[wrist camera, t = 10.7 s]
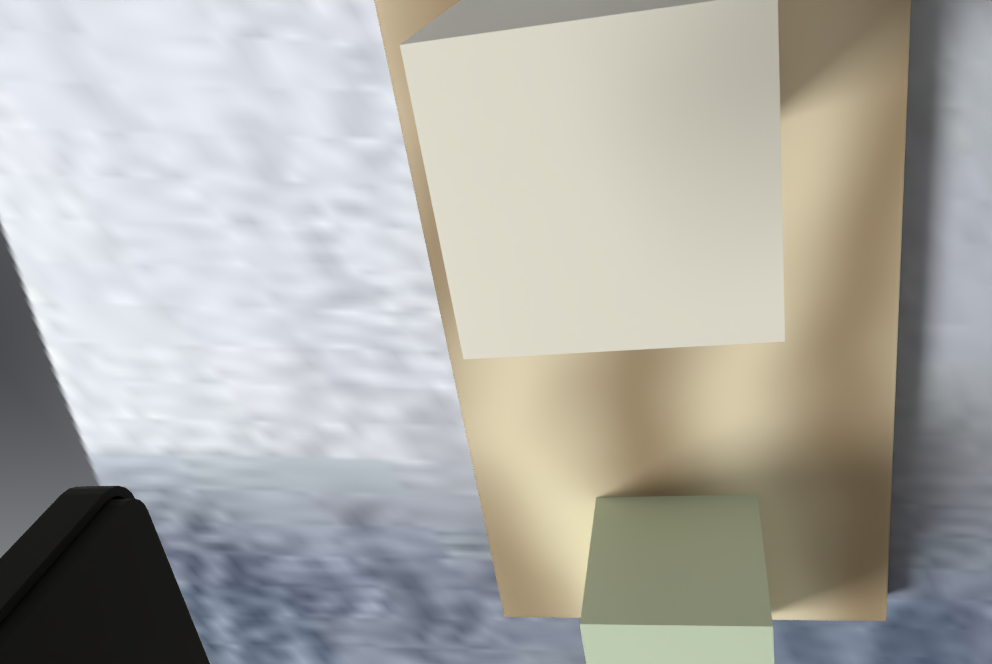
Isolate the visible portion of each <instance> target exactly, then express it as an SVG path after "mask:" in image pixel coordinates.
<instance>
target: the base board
mask: <svg viewBox="0 0 992 664" xmlns="http://www.w3.org/2000/svg"><path fill="white" fill-rule="evenodd" d="M374 1H375V6H376V11H377V15H378V20H379V25H380V30H381V34H382V39H383V44H384V49H385V53H386V58H387V63H388V68H389V72H390V77H391V82H392V86H393V91H394V96H395V101H396V105H397V110H398V115H399V120H400V124H401V129H402V134H403V138H404V143H405V148H406V153H407V157H408V162H409V167H410V172H411V176H412V181H413V186H414V191H415V195H416V200H417V205H418V209H419V214H420V219H421V224H422V228H423V233H424V238H425V243H426V247H427V252H428V257H429V261H430V266H431V271H432V276H433V280H434V285H435V290H436V295H437V299H438V304H439V309H440V314H441V318H442V323H443V328H444V332H445V337H446V342H447V347H448V351H449V356H450V361H451V366H452V370H453V375H454V380H455V385H456V389H457V394H458V399H459V403H460V408H461V413H462V418H463V422H464V427H465V432H466V437H467V441H468V446H469V451H470V455H471V460H472V465H473V470H474V474H475V479H476V484H477V489H478V493H479V498H480V503H481V508H482V512H483V517H484V522H485V526H486V531H487V536H488V541H489V545H490V550H491V555H492V560H493V564H494V569H495V574H496V578H497V583H498V588H499V593H500V597H501V602H502V607H503V612H504V616H505V617H573V618H581V611H582V604H583V596H584V588H585V580H586V572H587V564H588V557H589V549H590V541H591V533H592V525H593V518H594V510H595V502H596V497H646V496H697V495H748V494H757V496H758V504H759V513H760V521H761V530H762V538H763V547H764V555H765V564H766V572H767V581H768V589H769V598H770V606H771V615H772V620H848V621H886V610H887V586H888V561H889V536H890V511H891V486H892V462H893V437H894V412H895V387H896V362H897V338H898V313H899V288H900V263H901V238H902V214H903V189H904V164H905V139H906V114H907V90H908V65H909V40H910V15H911V0H778V33H779V80H780V127H781V173H782V220H783V267H784V313H785V342H767V343H749V344H731V345H713V346H695V347H677V348H659V349H642V350H624V351H606V352H588V353H570V354H552V355H534V356H516V357H498V358H480V359H463V354H462V350H461V345H460V340H459V335H458V330H457V325H456V320H455V315H454V310H453V305H452V300H451V295H450V290H449V285H448V281H447V276H446V271H445V266H444V261H443V256H442V251H441V246H440V241H439V236H438V231H437V226H436V221H435V217H434V212H433V207H432V202H431V197H430V192H429V187H428V182H427V177H426V172H425V167H424V162H423V157H422V152H421V148H420V143H419V138H418V133H417V128H416V123H415V118H414V113H413V108H412V103H411V98H410V93H409V88H408V84H407V79H406V74H405V69H404V64H403V59H402V54H401V49H400V44H402V43H403V42H404V41H406V40H407V39H408V38H410V37H411V36H412V35H414V34H415V33H417V32H418V31H419V30H421V29H422V28H423V27H425V26H426V25H427V24H429V23H430V22H431V21H433V20H434V19H436V18H437V17H438V16H440V15H441V14H442V13H444V12H445V11H446V10H448V9H449V8H450V7H452V6H453V5H455V4H456V3H457V2H459V1H460V0H374Z"/></svg>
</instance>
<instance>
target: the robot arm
mask: <svg viewBox="0 0 992 664" xmlns="http://www.w3.org/2000/svg"><path fill="white" fill-rule="evenodd" d="M0 664H210V663H209V661H208V658H207V656H206V653H205V651H204V648H203V646H202V643H201V641H200V638H199V636H198V633H197V631H196V628H195V626H194V624H193V621H192V619H191V616H190V614H189V611H188V609H187V606H186V604H185V601H184V599H183V596H182V594H181V591H180V589H179V586H178V584H177V581H176V579H175V577H174V574H173V572H172V569H171V567H170V564H169V562H168V559H167V557H166V554H165V552H164V549H163V547H162V544H161V542H160V539H159V537H158V534H157V532H156V530H155V527H154V525H153V522H152V520H151V517H150V515H149V512H148V510H147V508H146V506H145V505H144V503H142V502H141V501H140V500H137V499H135V498H134V496H133V494H132V493H131V492H130V491H129V490H128V489H126V488H125V487H120V486H90V487H89V486H87V487H74V488H70V489H68V490H67V491H65V492H64V493H63V494H61V495H60V496H59V498H58V499H57V500H56V501H55V502H54V503H53V504H52V505H51V506H50V507H49V508H48V509H47V510H46V511H45V512H44V513H43V514H42V515H41V516H40V517H39V518H38V520H37V521H36V522H35V523H34V524H33V525H32V526H31V527H30V528H29V529H28V530H27V531H26V532H25V533H24V534H23V536H21V537H20V538H19V540H18V541H17V542H16V543H15V544H14V545H13V546H12V547H11V548H10V549H9V550H8V551H7V552H6V553H5V554H4V555H3V556H2V557H1V558H0Z"/></svg>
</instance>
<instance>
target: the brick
mask: <svg viewBox="0 0 992 664" xmlns="http://www.w3.org/2000/svg"><path fill="white" fill-rule="evenodd" d="M580 628H581V634H582V640H583V647H584V653H585V659H586V664H774V644H773V623H772V615H771V606H770V598H769V589H768V581H767V572H766V564H765V555H764V547H763V538H762V530H761V521H760V513H759V504H758V496H757V494H748V495H697V496H646V497H596V502H595V510H594V518H593V525H592V533H591V541H590V549H589V557H588V564H587V572H586V580H585V588H584V596H583V604H582V611H581V619H580Z"/></svg>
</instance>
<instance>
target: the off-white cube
mask: <svg viewBox="0 0 992 664" xmlns="http://www.w3.org/2000/svg"><path fill="white" fill-rule="evenodd" d="M400 49H401V54H402V59H403V64H404V69H405V74H406V79H407V84H408V88H409V93H410V98H411V103H412V108H413V113H414V118H415V123H416V128H417V133H418V138H419V143H420V148H421V152H422V157H423V162H424V167H425V172H426V177H427V182H428V187H429V192H430V197H431V202H432V207H433V212H434V217H435V221H436V226H437V231H438V236H439V241H440V246H441V251H442V256H443V261H444V266H445V271H446V276H447V281H448V285H449V290H450V295H451V300H452V305H453V310H454V315H455V320H456V325H457V330H458V335H459V340H460V345H461V350H462V354H463V359H480V358H498V357H516V356H534V355H552V354H570V353H588V352H606V351H624V350H642V349H659V348H677V347H695V346H713V345H731V344H749V343H767V342H785V313H784V267H783V220H782V173H781V127H780V80H779V33H778V0H460V1H459V2H457V3H456V4H455V5H453V6H452V7H450V8H449V9H448V10H446V11H445V12H444V13H442V14H441V15H440V16H438V17H437V18H436V19H434V20H433V21H431V22H430V23H429V24H427V25H426V26H425V27H423V28H422V29H421V30H419V31H418V32H417V33H415V34H414V35H412V36H411V37H410V38H408V39H407V40H406V41H404V42H403V43H402V44H400Z"/></svg>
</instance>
